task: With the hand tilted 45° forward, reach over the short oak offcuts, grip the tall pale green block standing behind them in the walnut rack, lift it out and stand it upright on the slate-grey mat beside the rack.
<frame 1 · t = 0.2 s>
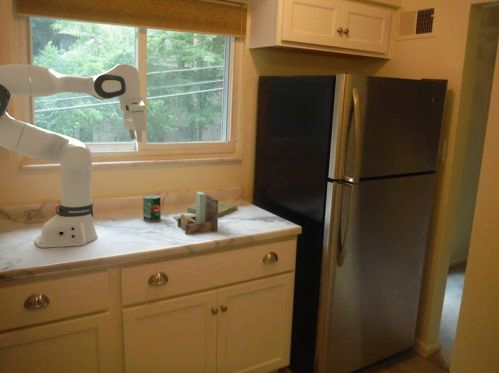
hand: (136, 140, 175), 39 cm above the countertop, tool pointing down, fingers open, 8 cm apart
walnut rack: (195, 228, 191), on the countertop
decorative tile: (211, 212, 222), on the countertop
pale green block: (200, 228, 192), resting in walnut rack
canned tomato: (152, 219, 203), on the countertop
offcut stack: (188, 229, 190), on the countertop
grey mat: (189, 219, 204), on the countertop
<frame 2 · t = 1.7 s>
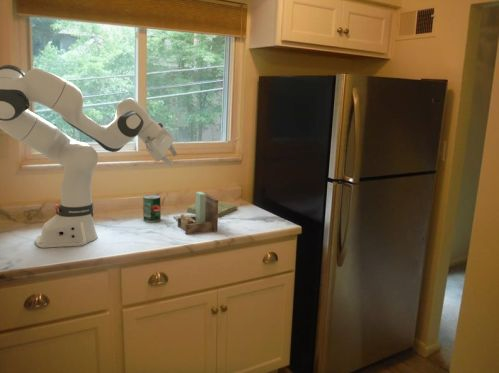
hand: (173, 159, 176), 32 cm above the countertop, tool tilted 40°, fingers open, 8 cm apart
nothing on the countertop moved.
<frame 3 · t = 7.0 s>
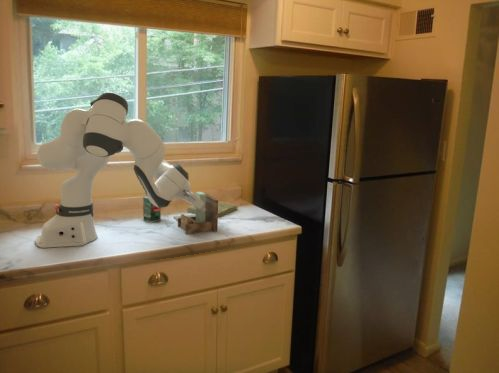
hand: (201, 208, 191), 9 cm above the countertop, tool tilted 45°, fingers closed on pale green block, 5 cm apart
pale green block: (200, 228, 192), resting in walnut rack, touching gripper
everything else where it was.
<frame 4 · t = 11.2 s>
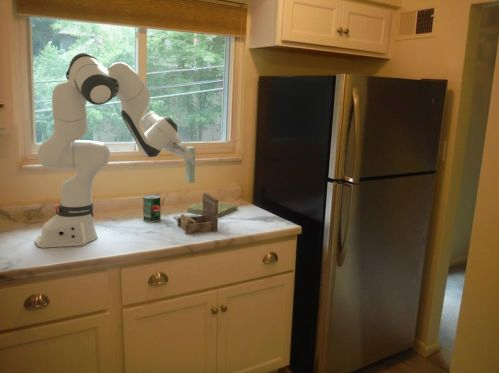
hand: (191, 162, 199), 27 cm above the countertop, tool tilted 45°, fingers closed on pale green block, 5 cm apart
pale green block: (190, 181, 200), point 18 cm above the countertop, touching gripper
everything else where it was.
when the fingers open (11 cm above the countertop, at t = 15.5 s): pale green block drops 1 cm, resting on grey mat.
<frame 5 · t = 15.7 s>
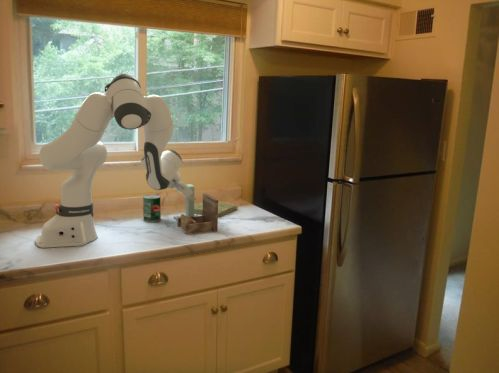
hand: (191, 198, 202), 11 cm above the countertop, tool tilted 45°, fingers open, 7 cm apart
pale green block: (189, 218, 204), point 1 cm above the countertop, touching grey mat
everything else where it was.
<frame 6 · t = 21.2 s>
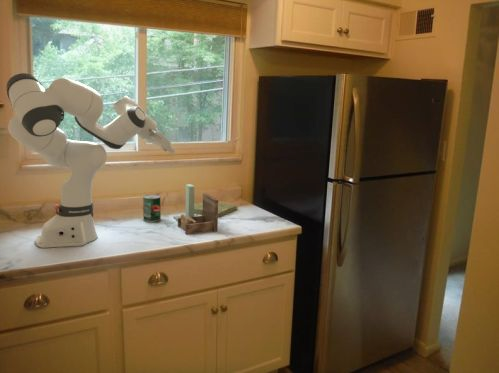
hand: (169, 151, 187), 33 cm above the countertop, tool tilted 45°, fingers open, 8 cm apart
nothing on the countertop moved.
at the end: pale green block inside the target area (0.0 cm from its centre), point 0.6 cm above the countertop; pale green block tilted 0°; the gripper is holding nothing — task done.
